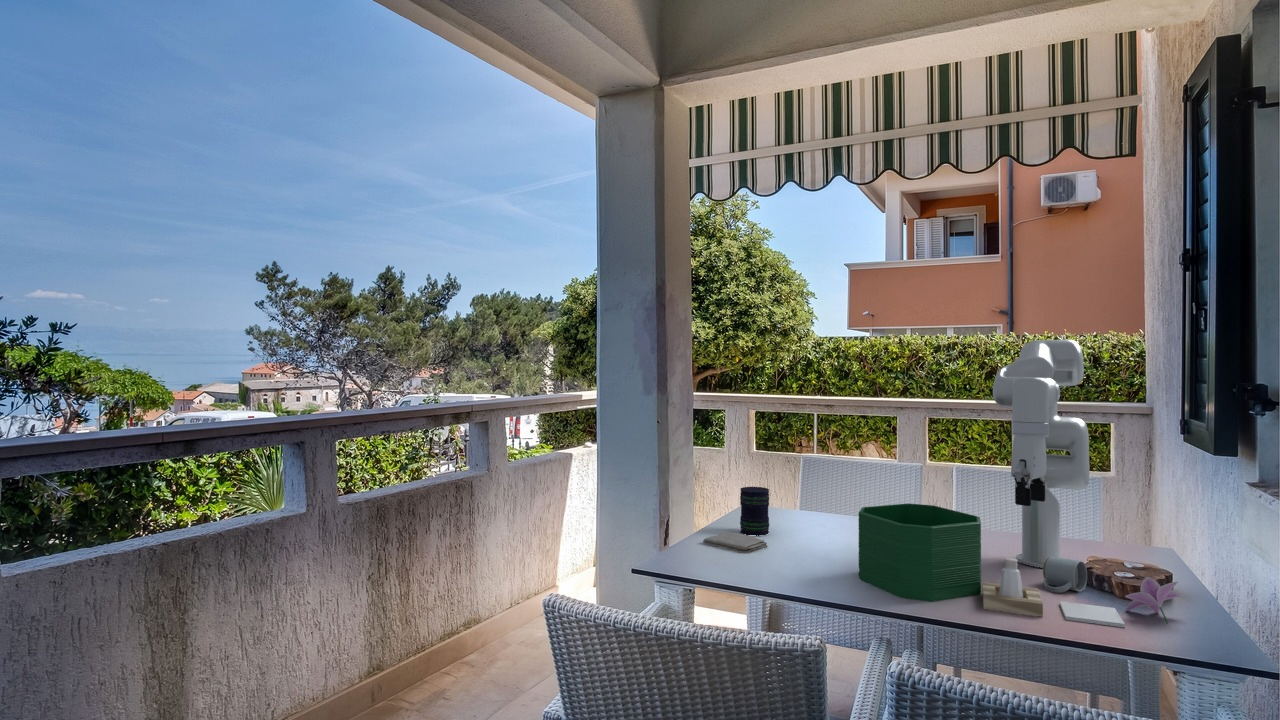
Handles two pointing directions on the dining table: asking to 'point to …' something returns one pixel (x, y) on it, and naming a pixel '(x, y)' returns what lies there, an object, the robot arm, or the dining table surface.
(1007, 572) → the pepper shaker
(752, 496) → the storage jar
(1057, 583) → the ceramic mug
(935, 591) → the planter
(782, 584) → the dining table surface
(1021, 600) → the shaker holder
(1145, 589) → the lily
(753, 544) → the washcloth
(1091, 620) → the ceramic coaster
